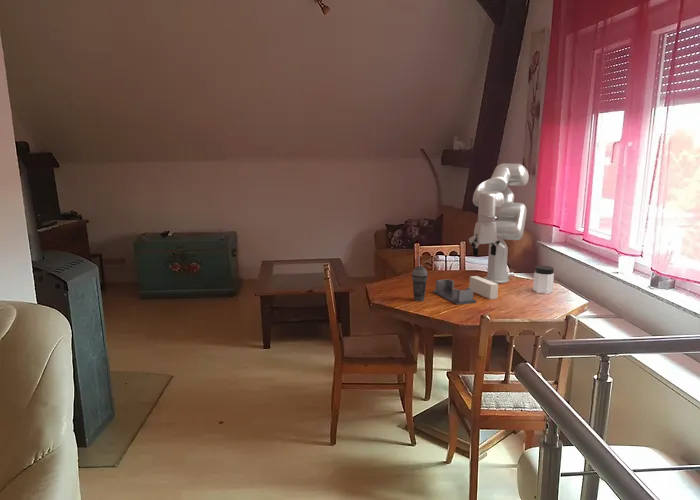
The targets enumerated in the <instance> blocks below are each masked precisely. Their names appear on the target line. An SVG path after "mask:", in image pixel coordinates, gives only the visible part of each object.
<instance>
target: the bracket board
mask: <svg viewBox="0 0 700 500" xmlns="http://www.w3.org/2000/svg"><path fill="white" fill-rule="evenodd" d="M473 291H474V290H473V289H471V288H469V287H467V286H466V289H458V288H455V280H452V279H451V278H447V279H445V278H444V279H437V280H435V289H432V293H433V294H435V295H436V296H438V297H441V298H443V299H444V300H446V301H448V302H451V303H453V304H454V303H455V305H459V306H460V305H468V304H476V303H477V299H474V292H473Z"/></svg>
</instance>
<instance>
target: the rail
mask: <svg viewBox="0 0 700 500" xmlns="http://www.w3.org/2000/svg"><path fill="white" fill-rule="evenodd" d="M468 288H471V289H473V290H474V291H473V293H474V294H478V295H479V296H481V297H484V298H486V299H488V300H495V299H496V300H497V299H498V298H499V297H498V295H499V293H498V292H499V283H494V282H491V281H489V280H486V279H484V277H480V276H479V275H472V276H469V287H468Z"/></svg>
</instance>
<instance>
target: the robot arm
mask: <svg viewBox="0 0 700 500" xmlns="http://www.w3.org/2000/svg"><path fill="white" fill-rule="evenodd" d="M529 178H530V176H529V172H528V169H527V168H526V167H525V166H524V165H523V164H521V163H499V164H497V166H495V169H494V170H493V173H492V174H491V176H490V178H489V179H487V180H484V181H482V182H481V183H479V184H478V185H477V187H476V188H475V190H474V192H473V195H472V203H473V204H474V206H475V207H478V210H477V211H478V213H477V214H478V215H477V222H476V223H475V226H474V229H473V236H470V237H469V238H468V242H469V244H470V246H471V247H472V255H473V257H476V258H478V257H479V246H480V245H488V257H487V258H488V259H487V275H485V276H484V277H483V278H484V279H486V280H489V281H491V282H494V283H497V284H504V283H505V284H506V283H508V282H510V278H509V277H514V276H515V273H514V272H512V271H511V272H509V271H508V270H507V269H508V268H507V266H508V256H509V255H508V251H509V248H508V245H507V243H506V241H505V240H507V241H520V240H522V238H523V235H524V231H525V225H526V220H527V214H528V213H527V206H526V205H525V204H524V203H522V202H514V201H515V200H514V199H515V194H514V193H513V191H512V189H511V188H510V187H509V186H517V187H518V186H521V187H522V186H525V185H527V184H528V182H529Z"/></svg>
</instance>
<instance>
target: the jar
mask: <svg viewBox="0 0 700 500" xmlns="http://www.w3.org/2000/svg"><path fill="white" fill-rule="evenodd" d="M533 273H534V275H533V290H532V291H534V292H535V293H537V294H545V295H546V294H547V295H549V294H552V293H553V291H554V280H555V279H554V278H555V273H554V267H553V266H550V265H549V266H548V265H537V266H535V271H534V272H533Z"/></svg>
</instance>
